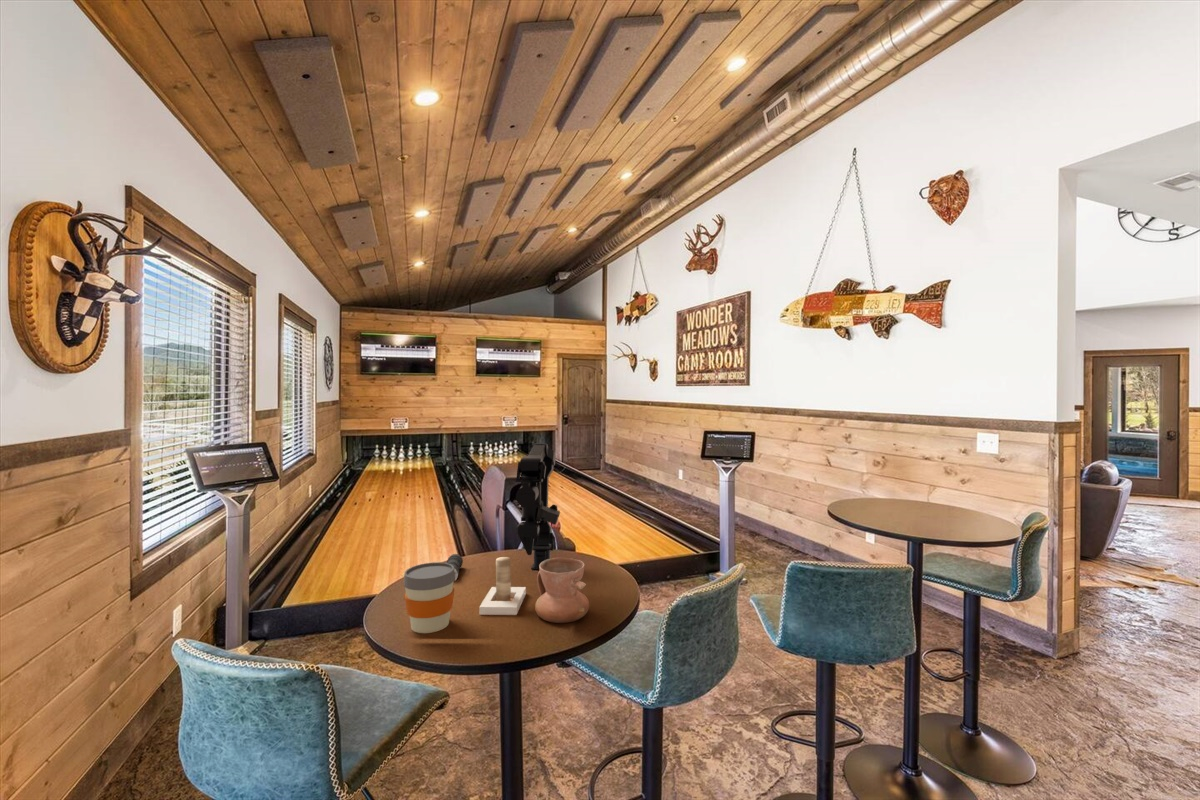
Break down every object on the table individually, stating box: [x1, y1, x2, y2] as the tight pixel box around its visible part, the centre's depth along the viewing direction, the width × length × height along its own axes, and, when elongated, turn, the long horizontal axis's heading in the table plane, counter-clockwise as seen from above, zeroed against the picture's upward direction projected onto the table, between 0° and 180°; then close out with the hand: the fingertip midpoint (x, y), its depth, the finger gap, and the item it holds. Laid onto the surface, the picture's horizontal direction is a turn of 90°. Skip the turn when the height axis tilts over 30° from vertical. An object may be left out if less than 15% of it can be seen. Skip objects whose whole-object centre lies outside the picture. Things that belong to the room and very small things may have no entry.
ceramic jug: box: [534, 557, 590, 624], centre depth 138 cm, size 18×14×14 cm
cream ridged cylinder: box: [495, 556, 512, 601], centre depth 144 cm, size 4×4×12 cm
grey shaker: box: [446, 553, 464, 581], centre depth 169 cm, size 15×5×5 cm, turn 8°
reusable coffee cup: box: [403, 561, 456, 634], centre depth 131 cm, size 13×13×15 cm
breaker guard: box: [478, 586, 527, 616], centre depth 144 cm, size 14×10×3 cm
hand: (532, 550), depth 157 cm, fingers open, 9 cm apart
